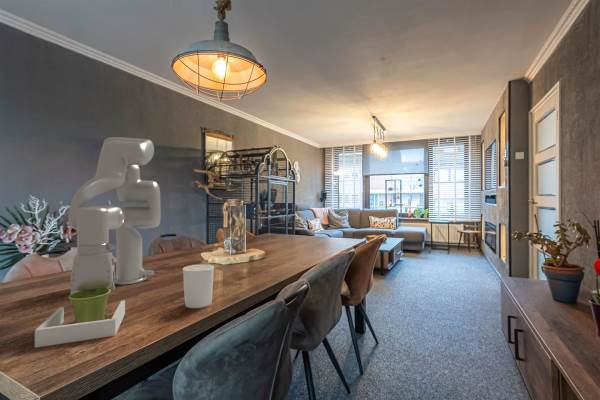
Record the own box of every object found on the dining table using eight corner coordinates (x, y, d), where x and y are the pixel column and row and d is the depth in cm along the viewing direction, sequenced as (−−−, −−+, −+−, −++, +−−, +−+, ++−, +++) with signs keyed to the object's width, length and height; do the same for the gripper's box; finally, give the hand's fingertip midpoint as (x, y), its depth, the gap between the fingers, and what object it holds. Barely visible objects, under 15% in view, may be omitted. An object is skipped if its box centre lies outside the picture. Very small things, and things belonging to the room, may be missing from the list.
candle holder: (187, 299, 102) (187, 264, 102) (216, 298, 103) (216, 264, 103) (178, 309, 92) (178, 271, 92) (210, 308, 93) (210, 270, 93)
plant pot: (66, 335, 74) (66, 301, 74) (70, 322, 82) (70, 291, 82) (110, 326, 80) (111, 294, 80) (110, 315, 87) (110, 286, 87)
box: (125, 313, 89) (125, 300, 89) (115, 335, 74) (115, 319, 74) (59, 322, 82) (59, 307, 82) (34, 347, 68) (34, 330, 68)
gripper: (125, 246, 92) (125, 305, 92) (66, 249, 86) (66, 311, 86) (120, 250, 85) (120, 313, 85) (56, 253, 79) (56, 321, 79)
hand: (93, 312), depth 86 cm, fingers closed
